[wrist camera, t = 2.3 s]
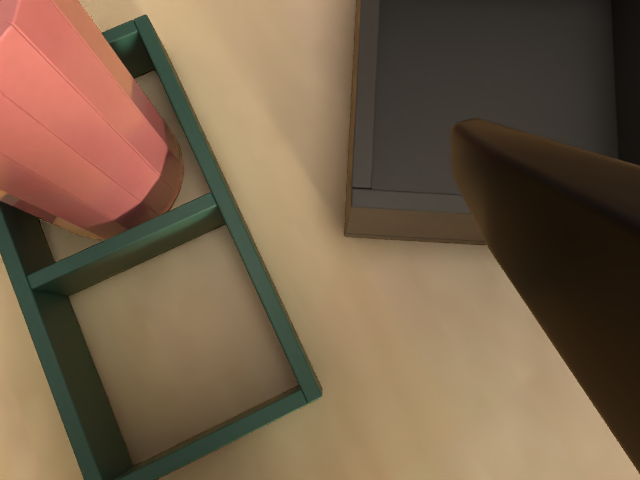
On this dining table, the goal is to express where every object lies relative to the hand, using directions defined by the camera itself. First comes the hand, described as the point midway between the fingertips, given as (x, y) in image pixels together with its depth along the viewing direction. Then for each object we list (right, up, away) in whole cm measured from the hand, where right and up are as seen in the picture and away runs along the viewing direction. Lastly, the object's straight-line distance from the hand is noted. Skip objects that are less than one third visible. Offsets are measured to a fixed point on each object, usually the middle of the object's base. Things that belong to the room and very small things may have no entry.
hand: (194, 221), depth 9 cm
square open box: (+10, +6, +16) cm, 19 cm away
